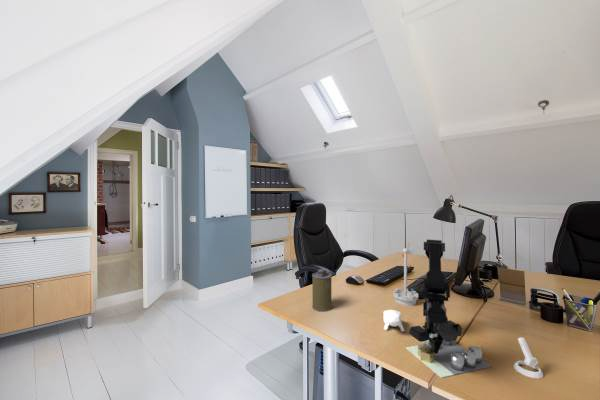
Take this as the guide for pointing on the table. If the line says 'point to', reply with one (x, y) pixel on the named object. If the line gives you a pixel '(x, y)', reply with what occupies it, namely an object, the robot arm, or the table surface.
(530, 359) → the white vr controller
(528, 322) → the table surface
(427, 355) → the faceted tan block
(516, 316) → the table surface
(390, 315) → the white footed lump
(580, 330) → the table surface
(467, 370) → the mat
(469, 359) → the spacers
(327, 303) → the canister
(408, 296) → the flag stand
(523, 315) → the table surface
